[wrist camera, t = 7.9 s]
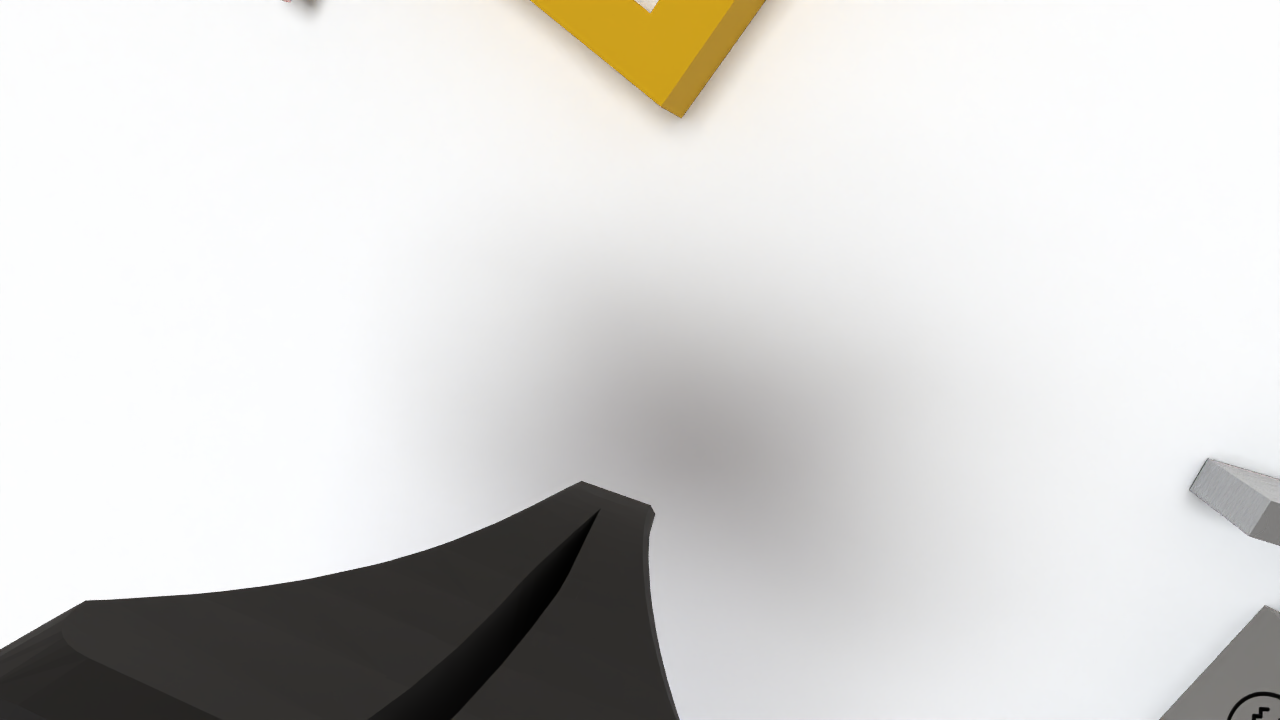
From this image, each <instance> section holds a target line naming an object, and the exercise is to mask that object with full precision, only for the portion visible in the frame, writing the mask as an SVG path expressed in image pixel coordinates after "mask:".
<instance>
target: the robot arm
mask: <svg viewBox="0 0 1280 720" xmlns="http://www.w3.org/2000/svg"><path fill="white" fill-rule="evenodd" d="M654 517H655V513H654V511H653V509H652V507H651V505H648V504H645V503H642V502H640V501H637V500H634V499H631V498H628V497H625V496H623V495H620V494H617V493H614V492H611V491H608V490H605V489H603V488H600V487H597V486H594V485H591V484H588V483H586V482H583V481H581V482H579V483H577V484H574V485H572V486H570V487H568V488H566V489H564V490H562V491H560V492H558V493H556V494H554V495H552V496H550V497H549V498H547V499H545V500H543V501H541V502H539V503H537V504H535V505H533V506H531V507H529V508H527V509H525V510H523V511H521V512H518V513H516V514H514V515H512V516H510V517H508V518H506V519H504V520H502V521H499V522H497V523H495V524H493V525H490V526H488V527H485V528H483V529H481V530H478V531H476V532H473V533H471V534H468V535H466V536H463V537H461V538H459V539H456V540H454V541H451V542H448V543H445V544H443V545H440V546H437V547H434V548H431V549H428V550H425V551H422V552H418V553H415V554H411V555H408V556H405V557H401V558H398V559H395V560H391V561H387V562H384V563H380V564H376V565H371V566H367V567H362V568H358V569H353V570H348V571H344V572H339V573H335V574H330V575H325V576H321V577H316V578H312V579H306V580H300V581H294V582H288V583H281V584H275V585H269V586H262V587H254V588H246V589H238V590H230V591H221V592H211V593H202V594H190V595H175V596H159V597H144V598H129V599H114V600H89V601H84V602H82V603H81V604H79V605H77V606H75V607H73V608H72V609H70V610H68V611H66V612H64V613H63V614H61V615H59V616H57V617H56V618H54V619H52V620H51V621H49V622H47V623H45V624H44V625H42V626H40V627H38V628H37V629H35V630H33V631H31V632H30V633H28V634H26V635H24V636H23V637H21V638H19V639H18V640H16V641H14V642H12V643H11V644H9V645H7V646H5V647H4V648H2V649H0V720H680V719H679V716H678V714H677V711H676V707H675V704H674V701H673V697H672V694H671V691H670V687H669V684H668V681H667V677H666V673H665V669H664V665H663V661H662V657H661V653H660V648H659V644H658V639H657V633H656V628H655V622H654V615H653V609H652V601H651V592H650V579H649V560H648V551H649V535H650V530H651V527H652V523H653V520H654Z"/></svg>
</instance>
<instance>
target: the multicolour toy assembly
mask: <svg viewBox="0 0 1280 720" xmlns="http://www.w3.org/2000/svg"><path fill="white" fill-rule="evenodd" d="M282 1H285V2H291V0H282ZM530 1H532V2H533V3H534V4H535V5H536V6H538V7H539V8H540V9H541V10H543V11H544V12H545V13H546V14H548V15H549V16H550V17H551V18H552V19H554V20H555V21H556V22H557V23H559V24H560V25H561V26H562V27H564V28H565V29H566V30H567V31H568V32H570V33H571V34H572V35H573V36H575V37H576V38H577V39H578V40H579V41H581V42H582V43H583V44H584V45H586V46H587V47H588V48H589V49H591V50H592V51H593V52H594V53H595V54H597V55H598V56H599V57H600V58H602V59H603V60H604V61H605V62H607V63H608V64H609V65H610V66H611V67H613V68H614V69H615V70H616V71H618V72H619V73H620V74H621V75H623V76H624V77H625V78H626V79H627V80H629V81H630V82H631V83H632V84H634V85H635V86H636V87H637V88H639V89H640V90H641V91H642V92H643V93H645V94H646V95H647V96H648V97H650V98H651V99H652V100H653V101H654V102H656V103H657V104H658V105H659V106H661V107H662V108H664V109H666V110H668V111H669V112H671V113H673V114H675V115H676V116H678V117H680V118H682V117H683V116H684V114H685V113H686V111H687V110H688V109H689V107H690V106H691V104H692V103H693V102H694V100H695V99H696V97H697V96H698V95H699V93H700V92H701V90H702V89H703V88H704V86H705V85H706V83H707V82H708V81H709V79H710V78H711V76H712V75H713V74H714V72H715V71H716V69H717V68H718V67H719V65H720V64H721V62H722V61H723V60H724V58H725V57H726V55H727V54H728V52H729V51H730V50H731V48H732V47H733V45H734V44H735V43H736V41H737V40H738V38H739V37H740V36H741V34H742V33H743V31H744V30H745V29H746V27H747V26H748V24H749V23H750V22H751V20H752V19H753V17H754V16H755V15H756V13H757V12H758V10H759V9H760V8H761V6H762V5H763V3H764V2H765V1H766V0H659V1H658V3H657V4H656V6H655V7H654V9H653V10H652V12H651V13H649V12H648V11H647V10H645V9H644V8H643V7H642V6H640V5H639V4H638V3H637V2H635V1H634V0H530Z"/></svg>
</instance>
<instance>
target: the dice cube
mask: <svg viewBox="0 0 1280 720" xmlns="http://www.w3.org/2000/svg"><path fill="white" fill-rule="evenodd" d="M1159 720H1280V612H1278V611H1276V610H1274V609H1272V608H1270V607H1268V606H1264V607H1263V608H1262V609H1261V610H1260V611H1259V612H1258V613H1257V614H1256V616H1255V617H1254V618H1253V619H1252V620H1251V621H1250V622H1249V623H1248V624H1247V625H1246V626H1245V627H1244V629H1243V630H1242V631H1241V632H1240V633H1239V634H1238V635H1237V636H1236V637H1235V638H1234V639H1233V640H1232V641H1231V643H1230V644H1229V645H1228V646H1227V647H1226V648H1225V649H1224V650H1223V651H1222V652H1221V653H1220V654H1219V656H1218V657H1217V658H1216V659H1215V660H1214V661H1213V662H1212V663H1211V664H1210V665H1209V666H1208V667H1207V669H1206V670H1205V671H1204V672H1203V673H1202V674H1201V675H1200V676H1199V677H1198V678H1197V679H1196V680H1195V682H1194V683H1193V684H1192V685H1191V686H1190V687H1189V688H1188V689H1187V690H1186V691H1185V692H1184V693H1183V694H1182V696H1181V697H1180V698H1179V699H1178V700H1177V701H1176V702H1175V703H1174V704H1173V705H1172V706H1171V707H1170V709H1169V710H1168V711H1167V712H1166V713H1165V714H1164V715H1163V716H1162V717H1161V718H1160V719H1159Z"/></svg>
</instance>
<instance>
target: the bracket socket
mask: <svg viewBox="0 0 1280 720" xmlns="http://www.w3.org/2000/svg"><path fill="white" fill-rule="evenodd" d="M1190 491H1192V492H1193V493H1194V494H1196V495H1197V496H1198V497H1199V498H1201V499H1202V500H1203V501H1204V502H1206V503H1207V504H1208V505H1210V506H1211V507H1212V508H1213V509H1215V510H1216V511H1217V512H1219V513H1220V514H1221V515H1222V516H1224V517H1225V518H1226V519H1227V520H1229V521H1230V522H1231V523H1233V524H1234V525H1235V526H1236V527H1238V528H1239V529H1240V530H1242V531H1243V532H1244V533H1245V534H1247V535H1248V536H1250V537H1253V538H1256V539H1260V540H1263V541H1266V542H1269V543H1273V544H1276V545H1279V546H1280V480H1279V479H1276V478H1272V477H1269V476H1266V475H1262V474H1259V473H1255V472H1252V471H1249V470H1245V469H1242V468H1238V467H1235V466H1232V465H1228V464H1225V463H1222V462H1218V461H1215V460H1211V459H1208V460H1207V461H1206V463H1205V465H1204V466H1203V468H1202V470H1201V471H1200V473H1199V475H1198V477H1197V478H1196V480H1195V482H1194V483H1193V485H1192V487H1191V488H1190Z"/></svg>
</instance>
